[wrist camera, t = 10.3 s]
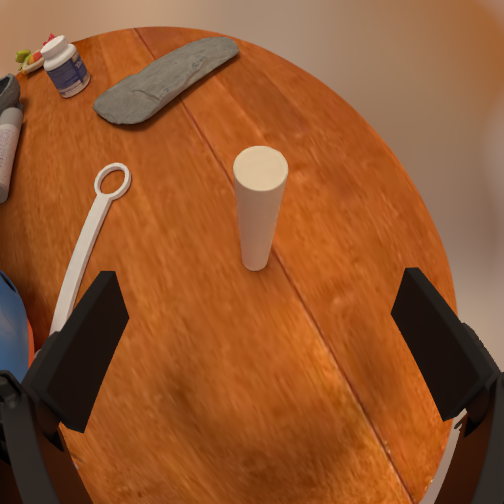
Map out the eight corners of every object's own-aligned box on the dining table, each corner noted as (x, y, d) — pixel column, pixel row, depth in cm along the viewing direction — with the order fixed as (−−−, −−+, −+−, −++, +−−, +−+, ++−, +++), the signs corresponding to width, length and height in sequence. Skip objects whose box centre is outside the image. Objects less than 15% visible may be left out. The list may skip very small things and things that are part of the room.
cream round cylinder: (250, 275, 24) (251, 200, 11) (237, 254, 24) (223, 159, 11) (272, 262, 24) (299, 175, 11) (259, 241, 25) (269, 138, 11)
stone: (207, 26, 32) (255, 45, 30) (208, 39, 34) (255, 60, 32) (84, 98, 27) (117, 129, 25) (92, 111, 30) (126, 144, 28)
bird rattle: (17, 89, 34) (22, 66, 35) (64, 69, 38) (65, 48, 39) (9, 69, 28) (16, 47, 29) (59, 47, 32) (61, 28, 33)
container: (14, 194, 26) (29, 117, 30) (-10, 179, 22) (12, 102, 26) (-4, 208, 26) (11, 132, 30) (-27, 196, 22) (-6, 118, 26)
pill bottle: (93, 84, 32) (69, 38, 22) (63, 103, 31) (35, 60, 21) (88, 71, 33) (67, 28, 23) (60, 88, 32) (36, 48, 23)
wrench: (33, 381, 20) (66, 404, 20) (29, 382, 20) (62, 405, 20) (104, 163, 27) (140, 169, 27) (102, 160, 26) (138, 166, 26)
